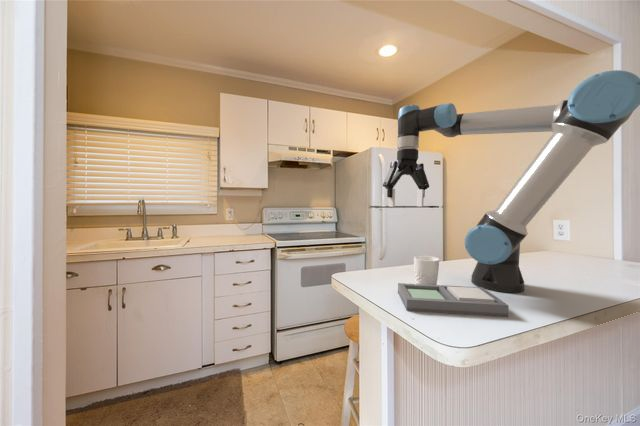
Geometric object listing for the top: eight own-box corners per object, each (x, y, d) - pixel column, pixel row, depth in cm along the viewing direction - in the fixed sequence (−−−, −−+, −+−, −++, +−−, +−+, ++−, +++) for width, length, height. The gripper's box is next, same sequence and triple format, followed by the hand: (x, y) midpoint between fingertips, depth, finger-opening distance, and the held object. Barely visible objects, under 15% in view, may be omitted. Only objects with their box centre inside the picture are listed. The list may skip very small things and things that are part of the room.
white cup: (440, 292, 82) (442, 261, 81) (414, 290, 84) (415, 260, 83) (435, 284, 90) (436, 256, 89) (411, 282, 91) (412, 254, 91)
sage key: (436, 293, 78) (436, 290, 78) (447, 305, 69) (447, 301, 69) (406, 291, 79) (406, 288, 79) (413, 303, 70) (413, 299, 70)
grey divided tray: (481, 297, 79) (482, 287, 78) (507, 316, 66) (508, 305, 65) (397, 292, 82) (398, 283, 81) (406, 310, 69) (407, 299, 68)
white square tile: (478, 291, 77) (478, 287, 76) (494, 303, 68) (494, 299, 68) (446, 289, 78) (447, 286, 78) (458, 301, 69) (459, 297, 69)
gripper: (425, 153, 105) (423, 206, 106) (373, 148, 95) (372, 206, 96) (440, 150, 98) (438, 206, 99) (386, 144, 88) (385, 207, 89)
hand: (406, 206), depth 98 cm, fingers open, 13 cm apart
